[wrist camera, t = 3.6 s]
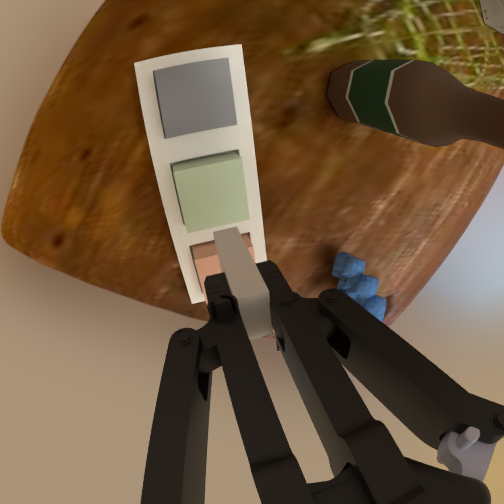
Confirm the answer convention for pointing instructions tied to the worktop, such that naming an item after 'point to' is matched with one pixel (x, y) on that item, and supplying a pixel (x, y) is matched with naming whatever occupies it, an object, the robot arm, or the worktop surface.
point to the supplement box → (493, 14)
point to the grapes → (358, 283)
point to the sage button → (211, 191)
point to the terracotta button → (212, 259)
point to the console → (200, 155)
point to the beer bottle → (415, 102)
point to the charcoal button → (196, 97)
